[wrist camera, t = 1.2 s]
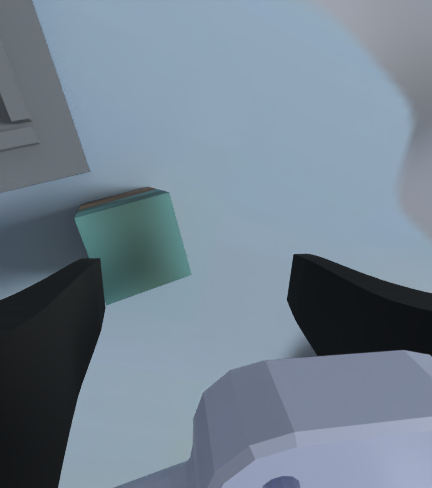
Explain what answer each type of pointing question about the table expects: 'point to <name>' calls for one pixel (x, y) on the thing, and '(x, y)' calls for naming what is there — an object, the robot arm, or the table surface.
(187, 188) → the table surface
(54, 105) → the plate
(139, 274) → the block stack
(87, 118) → the table surface
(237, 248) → the table surface
